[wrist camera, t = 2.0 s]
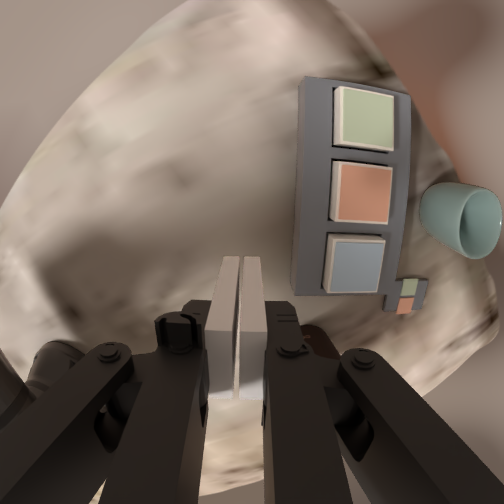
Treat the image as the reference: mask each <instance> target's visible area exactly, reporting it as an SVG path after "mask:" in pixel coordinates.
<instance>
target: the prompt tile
mask: <svg viewBox="0 0 504 504" xmlns="http://www.w3.org/2000/svg"><path fill="white" fill-rule="evenodd" d="M427 285H428V280H427V279H418V278H409V279H403V280H395V285H394V290H393V294H386V295H385V300H384V305H383V309H382V310H383V311H384V312H386V311H396V314H406V313H410V312H411V310H417V309H421V308H422V305H423V301H424V297H425V293H426V289H427Z"/></svg>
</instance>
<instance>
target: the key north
mask: <svg viewBox="0 0 504 504" xmlns="http://www.w3.org/2000/svg"><path fill="white" fill-rule="evenodd" d="M332 146H339V147H348V148H356V149H364V150H372V151H393V150H394V96H391V95H386V94H381V93H377V92H372V91H367V90H361V89H356V88H350V87H344V86H339V87H338V88H337V89H336V90H334V91H333V92H332Z"/></svg>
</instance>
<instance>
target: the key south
mask: <svg viewBox="0 0 504 504" xmlns="http://www.w3.org/2000/svg"><path fill="white" fill-rule="evenodd" d="M384 248H385V240H384V239H382V238H381V237H379V236H377V235H376V234H372V233H349V232H326V242H325V252H324V262H323V271H322V280H321V283H322V285H323V287H324V289H325V290H326V292H327V293H373V292H377V289H378V284H379V279H380V273H381V267H382V261H383V255H384Z"/></svg>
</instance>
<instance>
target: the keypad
mask: <svg viewBox="0 0 504 504" xmlns="http://www.w3.org/2000/svg"><path fill="white" fill-rule="evenodd" d="M339 86H344V87H350V88H356V89H361V90H367V91H372V92H377V93H381V94H386V95H391V96H394V150H393V151H374V152H369V151H361V150H353V149H344V148H335V147H332V92H333V91H334V90H336V89H337V88H338V87H339ZM410 154H411V96H410V95H406V94H403V93H399V92H394V91H390V90H386V89H381V88H377V87H372V86H367V85H362V84H356V83H350V82H344V81H338V80H331V79H324V78H315V77H306V76H305V77H304V79H303V80H302V82H301V83H300V85H299V92H298V143H297V171H296V194H295V214H294V231H293V247H292V261H291V275H290V283H291V286H292V289H293V292H294V295H295V296H342V295H386V294H393V290H394V285H395V280H396V275H397V269H398V264H399V258H400V252H401V246H402V239H403V232H404V225H405V217H406V208H407V198H408V187H409V173H410ZM331 159H335V160H345V161H355V162H363V163H371V164H373V165H377V166H384V167H391V168H393V171H392V186H391V198H390V208H389V217H388V225H387V224H371V223H353V222H335V221H333V220H332V219H331V218H329V217H328V205H329V190H330V172H331ZM326 232H349V233H372V234H376V235H377V236H379V237H381V238H382V239H384V240H385V248H384V255H383V261H382V267H381V273H380V279H379V284H378V289H377V292H373V293H327V292H326V290H325V289H324V287H323V285H322V283H321V280H322V271H323V262H324V252H325V242H326Z"/></svg>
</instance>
